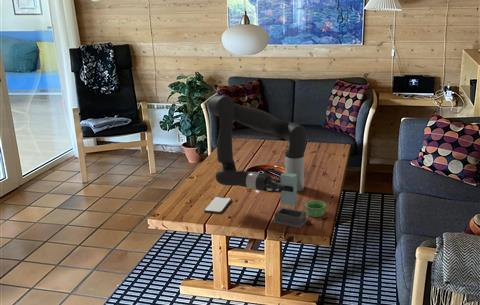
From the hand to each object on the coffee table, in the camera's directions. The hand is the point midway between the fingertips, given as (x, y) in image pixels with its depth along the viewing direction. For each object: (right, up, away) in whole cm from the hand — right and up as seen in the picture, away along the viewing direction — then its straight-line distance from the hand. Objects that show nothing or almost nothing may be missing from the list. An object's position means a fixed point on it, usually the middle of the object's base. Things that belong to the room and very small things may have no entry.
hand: (294, 187), depth 218 cm
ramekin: (+11, -13, +13) cm, 21 cm away
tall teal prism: (-2, -7, +4) cm, 8 cm away
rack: (-1, -15, +6) cm, 16 cm away
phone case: (-33, -11, +24) cm, 42 cm away
